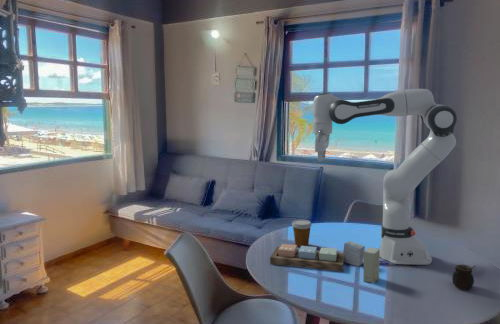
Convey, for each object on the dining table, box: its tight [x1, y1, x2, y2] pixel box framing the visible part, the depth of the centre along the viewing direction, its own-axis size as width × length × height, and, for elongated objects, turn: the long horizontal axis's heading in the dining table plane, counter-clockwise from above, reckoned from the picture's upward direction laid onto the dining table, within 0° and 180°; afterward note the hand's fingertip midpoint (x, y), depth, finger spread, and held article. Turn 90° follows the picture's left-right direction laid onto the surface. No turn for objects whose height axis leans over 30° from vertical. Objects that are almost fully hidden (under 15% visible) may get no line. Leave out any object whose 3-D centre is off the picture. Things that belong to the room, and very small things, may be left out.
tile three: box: [278, 243, 298, 257], centre depth 173 cm, size 7×7×3 cm
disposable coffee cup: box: [291, 219, 312, 248], centre depth 190 cm, size 10×10×12 cm
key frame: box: [269, 246, 345, 272], centre depth 171 cm, size 31×13×3 cm, turn 72°
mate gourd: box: [451, 264, 477, 291], centre depth 144 cm, size 7×8×10 cm
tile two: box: [298, 245, 318, 259], centre depth 171 cm, size 7×7×3 cm
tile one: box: [319, 247, 338, 262], centre depth 168 cm, size 7×7×3 cm
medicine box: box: [342, 240, 366, 267], centre depth 168 cm, size 8×4×9 cm, turn 46°
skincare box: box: [362, 246, 380, 284], centre depth 152 cm, size 6×4×12 cm
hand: (321, 159), depth 177 cm, fingers open, 8 cm apart
